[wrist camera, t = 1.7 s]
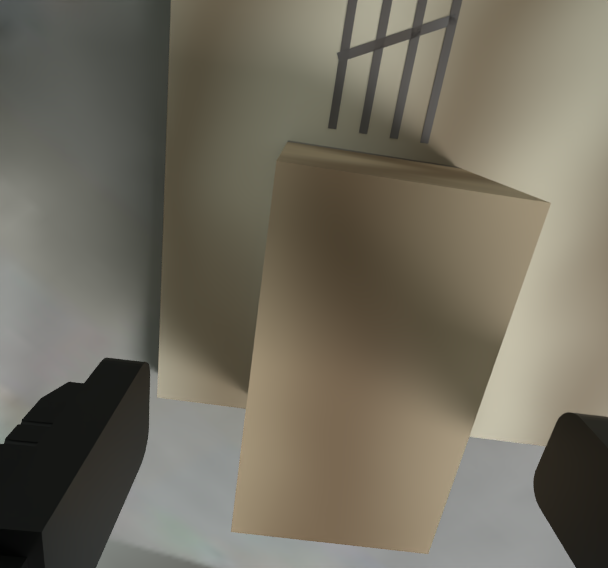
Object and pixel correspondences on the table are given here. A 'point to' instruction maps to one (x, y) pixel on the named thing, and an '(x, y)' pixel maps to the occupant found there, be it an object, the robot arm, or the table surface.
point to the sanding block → (374, 342)
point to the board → (397, 143)
